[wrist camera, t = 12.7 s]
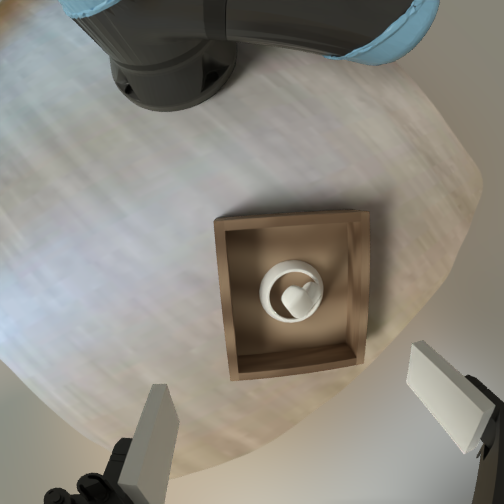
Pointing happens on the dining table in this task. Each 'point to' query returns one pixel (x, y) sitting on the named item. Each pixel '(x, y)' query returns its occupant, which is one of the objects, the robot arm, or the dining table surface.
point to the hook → (293, 291)
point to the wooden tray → (303, 249)
